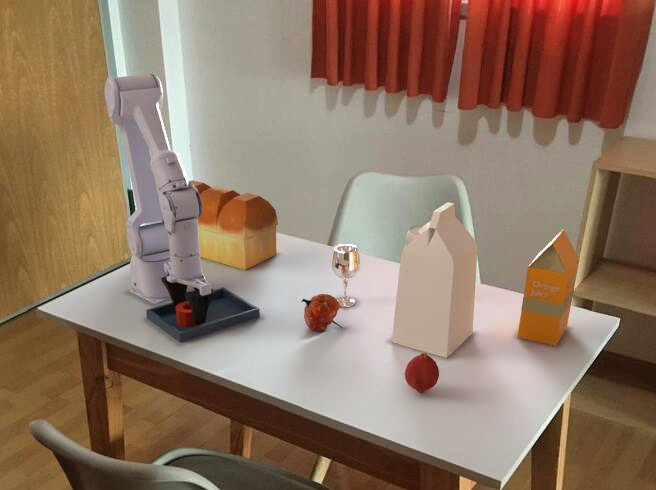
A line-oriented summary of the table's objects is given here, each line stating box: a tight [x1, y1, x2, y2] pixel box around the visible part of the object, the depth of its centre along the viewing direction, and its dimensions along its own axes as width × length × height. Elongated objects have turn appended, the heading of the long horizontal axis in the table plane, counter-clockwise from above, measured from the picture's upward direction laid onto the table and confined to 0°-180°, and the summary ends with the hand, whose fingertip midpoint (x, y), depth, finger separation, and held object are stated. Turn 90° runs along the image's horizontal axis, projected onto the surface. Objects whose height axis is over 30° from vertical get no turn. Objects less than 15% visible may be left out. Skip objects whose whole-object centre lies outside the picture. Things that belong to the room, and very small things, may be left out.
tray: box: [145, 286, 261, 343], centre depth 166 cm, size 13×18×2 cm
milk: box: [391, 201, 478, 359], centre depth 153 cm, size 12×12×26 cm
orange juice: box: [517, 228, 580, 347], centre depth 157 cm, size 8×9×20 cm
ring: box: [176, 301, 201, 327], centre depth 164 cm, size 5×5×3 cm
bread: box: [188, 179, 279, 271], centre depth 194 cm, size 25×12×15 cm, turn 55°
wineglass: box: [331, 244, 361, 308], centre depth 170 cm, size 6×6×12 cm
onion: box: [404, 351, 440, 394], centre depth 140 cm, size 6×6×8 cm
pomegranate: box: [300, 293, 344, 333], centre depth 161 cm, size 7×7×10 cm
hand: (190, 316), depth 164 cm, fingers open, 7 cm apart
